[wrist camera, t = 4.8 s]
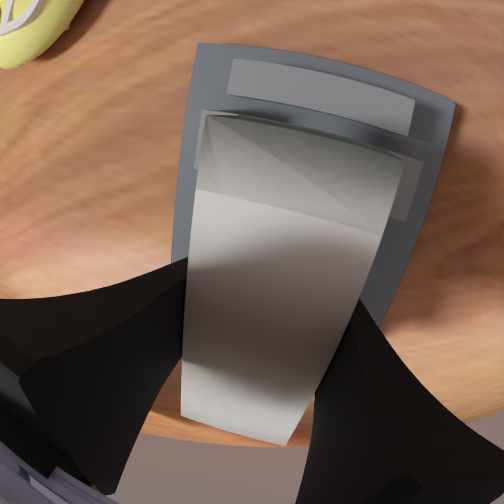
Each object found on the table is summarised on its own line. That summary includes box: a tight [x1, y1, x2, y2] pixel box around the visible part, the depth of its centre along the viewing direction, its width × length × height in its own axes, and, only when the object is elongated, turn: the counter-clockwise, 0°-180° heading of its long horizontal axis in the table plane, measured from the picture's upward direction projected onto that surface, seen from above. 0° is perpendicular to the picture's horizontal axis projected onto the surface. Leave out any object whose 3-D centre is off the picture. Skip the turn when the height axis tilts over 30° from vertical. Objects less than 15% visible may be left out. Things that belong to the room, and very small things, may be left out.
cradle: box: [171, 43, 456, 327], centre depth 14 cm, size 17×12×3 cm
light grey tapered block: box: [181, 115, 405, 446], centre depth 9 cm, size 10×4×4 cm, turn 170°
